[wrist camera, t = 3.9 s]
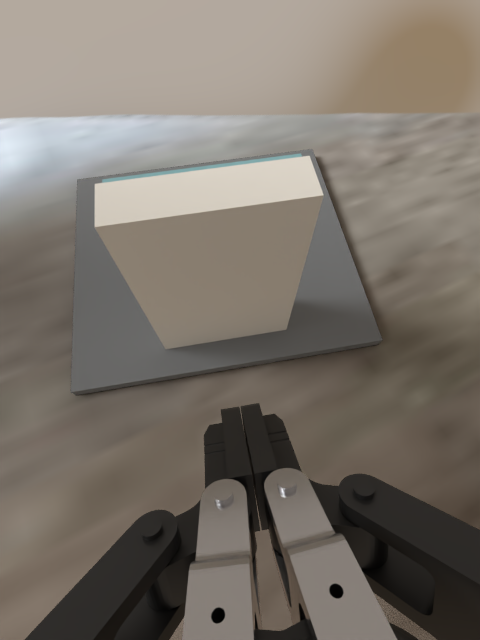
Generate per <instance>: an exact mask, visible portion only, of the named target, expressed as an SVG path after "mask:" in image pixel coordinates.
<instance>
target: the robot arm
mask: <svg viewBox="0 0 480 640" xmlns="http://www.w3.org/2000/svg"><path fill="white" fill-rule="evenodd" d="M241 413H242V419H241V414H240V408H239V407H234V408H228V409H222V410H221V415H222V423H219V424H213V425H209V427H208V429H207V431H206V432H205V434H204V446H205V447H204V451H205V490H204V492H203V493H202V496H201V500H200V501H199V502H198V503H197V504H196V505H195V506H194V507H193V508H191V509H190V510H188V511H186V512H184V513H182V514H180V515H178V516H176V517H175V516H174V515H173V514H172V513H170V512H168V511H165V510H155V511H151V512H149V513H146V514H144V515H143V516H141V517H140V518H139V519H138V520H136V521H135V522H134V524H133V525H132V526H131V527H130V528H129V529H128V530H127V531H126V532H125V533H124V534H123V535H122V536H121V537H120V538H119V540H118V541H117V542H116V543H115V544H114V545H113V546H112V547H111V548H110V549H109V550H108V551H107V552H106V553H105V554H104V556H103V557H102V558H101V559H100V560H99V561H98V562H97V563H96V564H95V565H94V566H93V567H92V568H91V569H90V570H89V572H88V573H87V574H86V575H85V576H84V577H83V578H82V579H81V580H80V581H79V582H78V583H77V584H76V585H75V586H74V588H73V589H72V590H71V591H70V592H69V593H68V594H67V595H66V596H65V597H64V598H63V599H62V600H61V601H60V602H59V604H58V605H57V606H56V607H55V608H54V609H53V610H52V611H51V612H50V613H49V614H48V615H47V616H46V617H45V618H44V620H43V621H42V622H41V623H40V624H39V625H38V626H37V627H36V628H35V629H34V630H33V631H32V632H31V633H30V634H29V636H28V637H27V638H26V639H25V640H169V639H170V638H171V636H172V635H173V633H174V631H175V630H176V628H177V627H178V625H179V624H180V622H181V620H182V619H183V617H184V627H183V637H182V640H418V639H417V638H415V637H414V636H413V635H411V634H409V633H408V632H406V631H405V630H403V629H401V628H399V627H397V626H395V625H393V624H391V623H388V621H387V619H386V617H385V615H384V613H383V611H382V609H381V607H380V605H379V603H378V601H377V599H376V597H375V595H374V593H375V594H377V595H378V596H380V597H381V598H382V599H384V600H385V601H386V602H388V603H389V604H390V605H392V606H393V607H394V608H396V609H397V610H398V611H400V612H401V613H402V614H404V615H405V616H407V617H408V618H409V619H411V620H412V621H413V622H415V623H416V624H417V625H419V626H420V627H421V628H423V629H424V630H425V631H427V632H428V633H430V634H431V635H432V636H434V637H435V638H436V639H438V640H480V530H478V529H476V528H474V527H472V526H470V525H468V524H466V523H465V522H463V521H461V520H459V519H457V518H455V517H453V516H451V515H449V514H447V513H445V512H443V511H441V510H439V509H437V508H435V507H433V506H431V505H429V504H427V503H425V502H423V501H421V500H419V499H417V498H415V497H413V496H411V495H409V494H407V493H405V492H403V491H401V490H399V489H397V488H395V487H393V486H391V485H389V484H387V483H385V482H383V481H381V480H379V479H377V478H375V477H372V476H370V475H366V474H353V475H349V476H347V477H345V478H344V479H343V480H342V481H341V483H340V485H339V486H330V485H322V484H318V483H316V482H313V481H311V480H310V479H308V478H307V476H306V475H305V474H304V473H302V471H301V469H300V466H299V464H298V461H297V458H296V455H295V453H294V450H293V447H292V445H291V442H290V440H289V437H288V434H287V432H286V428H285V426H284V423H283V421H282V420H281V419H280V418H279V417H278V416H276V415H275V414H271V415H265V416H262V412H261V409H260V405H259V403H257V404H251V405H245V406H241ZM242 420H243V424H242ZM243 426H244V429H243ZM244 433H245V435H244ZM254 490H255V491H254ZM255 495H256V498H255ZM256 500H257V505H258V511H259V516H260V521H261V527H262V530H266V529H269V533H270V537H271V543H272V551H273V556H274V559H275V563H276V566H277V570H278V573H279V577H280V580H281V584H282V587H283V591H284V594H285V598H286V601H287V605H288V608H289V611H290V615H291V619H292V623H293V626H291V627H289V628H287V629H285V630H283V631H271V630H262V621H261V609H260V597H259V584H258V572H257V560H256V549H257V545H256V538H255V532H256V531H260V526H259V519H258V512H257V505H256ZM373 592H374V593H373Z"/></svg>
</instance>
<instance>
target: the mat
mask: <svg viewBox="0 0 480 640" xmlns="http://www.w3.org/2000/svg"><path fill="white" fill-rule="evenodd" d="M300 153H301V155H302V157H303V156H310V158H311V161H312V164H313V167H314V169H315V172H316V175H317V178H318V181H319V183H320V186H321V189H322V192H323V195H324V196H323V200H322V203H321V207H320V211H319V214H318V218H317V221H316V225H315V229H314V232H313V236H312V239H311V243H310V246H309V250H308V254H307V257H306V261H305V264H304V268H303V272H302V275H301V279H300V282H299V286H298V290H297V293H296V297H295V300H294V304H293V308H292V311H291V315H290V318H289V322H288V326H287V329H286V330H282V331H275V332H269V333H263V334H257V335H251V336H245V337H239V338H232V339H226V340H220V341H214V342H208V343H202V344H196V345H189V346H183V347H177V348H171V349H165V347H164V346H163V344H162V342H161V341H160V339H159V337H158V335H157V334H156V332H155V330H154V329H153V327H152V325H151V323H150V322H149V320H148V318H147V316H146V315H145V313H144V311H143V310H142V308H141V306H140V304H139V303H138V301H137V299H136V298H135V296H134V294H133V292H132V291H131V289H130V287H129V286H128V284H127V282H126V280H125V279H124V277H123V275H122V273H121V272H120V270H119V268H118V267H117V265H116V263H115V261H114V260H113V258H112V256H111V255H110V253H109V251H108V249H107V248H106V246H105V244H104V243H103V241H102V239H101V237H100V236H99V234H98V232H97V231H96V229H95V184H97V183H102V179H109V178H117V177H125V176H132V175H140V174H147V173H155V172H163V171H170V170H178V169H186V168H193V167H201V166H209V165H216V164H224V163H232V162H239V161H247V160H254V159H262V158H270V157H277V156H285V155H293V154H300ZM381 341H382V337H381V335H380V332H379V329H378V326H377V324H376V321H375V318H374V315H373V313H372V310H371V307H370V305H369V302H368V299H367V296H366V294H365V291H364V288H363V286H362V283H361V280H360V277H359V275H358V272H357V269H356V267H355V264H354V261H353V258H352V256H351V253H350V250H349V247H348V245H347V242H346V239H345V237H344V234H343V231H342V228H341V226H340V223H339V220H338V218H337V215H336V212H335V209H334V207H333V204H332V201H331V199H330V196H329V193H328V190H327V188H326V185H325V182H324V180H323V177H322V174H321V171H320V169H319V166H318V163H317V160H316V158H315V155H314V152H313V150H312V149H308V150H301V151H293V152H285V153H278V154H270V155H262V156H254V157H247V158H239V159H231V160H224V161H216V162H208V163H201V164H193V165H185V166H178V167H170V168H162V169H155V170H147V171H139V172H132V173H124V174H116V175H109V176H101V177H93V178H86V179H78V180H77V207H76V239H75V271H74V302H73V334H72V366H71V393H73V394H75V395H81V394H87V393H93V392H99V391H105V390H111V389H117V388H122V387H128V386H134V385H140V384H146V383H152V382H158V381H164V380H170V379H176V378H182V377H188V376H194V375H200V374H206V373H212V372H218V371H224V370H230V369H235V368H241V367H247V366H253V365H259V364H265V363H271V362H277V361H283V360H289V359H295V358H301V357H307V356H313V355H319V354H325V353H331V352H337V351H343V350H349V349H354V348H360V347H366V346H372V345H378V344H379V343H380V342H381Z"/></svg>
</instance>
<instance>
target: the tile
mask: <svg viewBox="0 0 480 640" xmlns="http://www.w3.org/2000/svg"><path fill="white" fill-rule="evenodd" d="M323 196H324V195H323V192H322V189H321V186H320V183H319V181H318V178H317V175H316V172H315V169H314V167H313V164H312V161H311V158H310V156H303V157H302V155H301V153H300V154H293V155H285V156H277V157H270V158H262V159H254V160H247V161H239V162H232V163H224V164H216V165H209V166H201V167H193V168H186V169H178V170H170V171H163V172H155V173H147V174H140V175H132V176H125V177H117V178H109V179H102V183H97V184H95V229H96V231H97V232H98V234H99V236H100V237H101V239H102V241H103V243H104V244H105V246H106V248H107V249H108V251H109V253H110V255H111V256H112V258H113V260H114V261H115V263H116V265H117V267H118V268H119V270H120V272H121V273H122V275H123V277H124V279H125V280H126V282H127V284H128V286H129V287H130V289H131V291H132V292H133V294H134V296H135V298H136V299H137V301H138V303H139V304H140V306H141V308H142V310H143V311H144V313H145V315H146V316H147V318H148V320H149V322H150V323H151V325H152V327H153V329H154V330H155V332H156V334H157V335H158V337H159V339H160V341H161V342H162V344H163V346H164V347H165V349H171V348H177V347H183V346H189V345H196V344H202V343H208V342H214V341H220V340H226V339H232V338H239V337H245V336H251V335H257V334H263V333H269V332H275V331H282V330H286V329H287V326H288V322H289V318H290V315H291V311H292V308H293V304H294V300H295V297H296V293H297V290H298V286H299V282H300V279H301V275H302V272H303V268H304V264H305V261H306V257H307V254H308V250H309V246H310V243H311V239H312V236H313V232H314V229H315V225H316V221H317V218H318V214H319V211H320V207H321V203H322V200H323Z"/></svg>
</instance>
